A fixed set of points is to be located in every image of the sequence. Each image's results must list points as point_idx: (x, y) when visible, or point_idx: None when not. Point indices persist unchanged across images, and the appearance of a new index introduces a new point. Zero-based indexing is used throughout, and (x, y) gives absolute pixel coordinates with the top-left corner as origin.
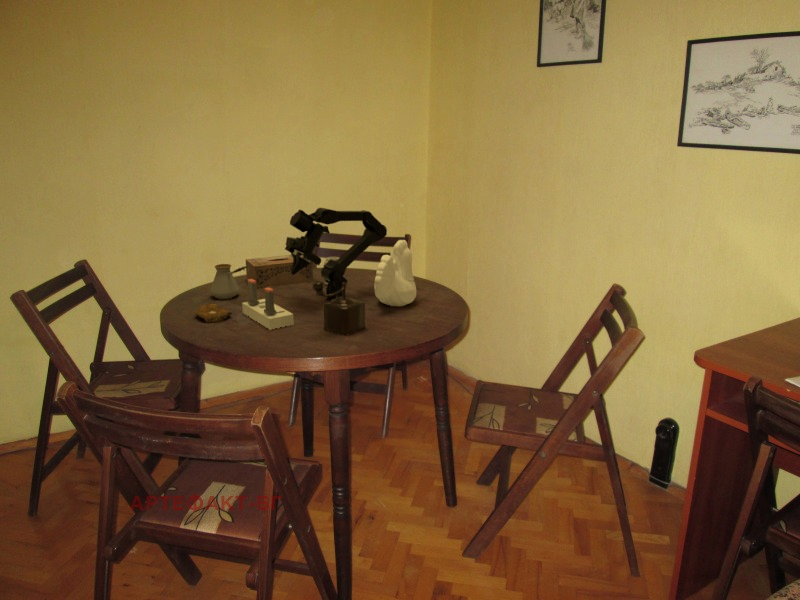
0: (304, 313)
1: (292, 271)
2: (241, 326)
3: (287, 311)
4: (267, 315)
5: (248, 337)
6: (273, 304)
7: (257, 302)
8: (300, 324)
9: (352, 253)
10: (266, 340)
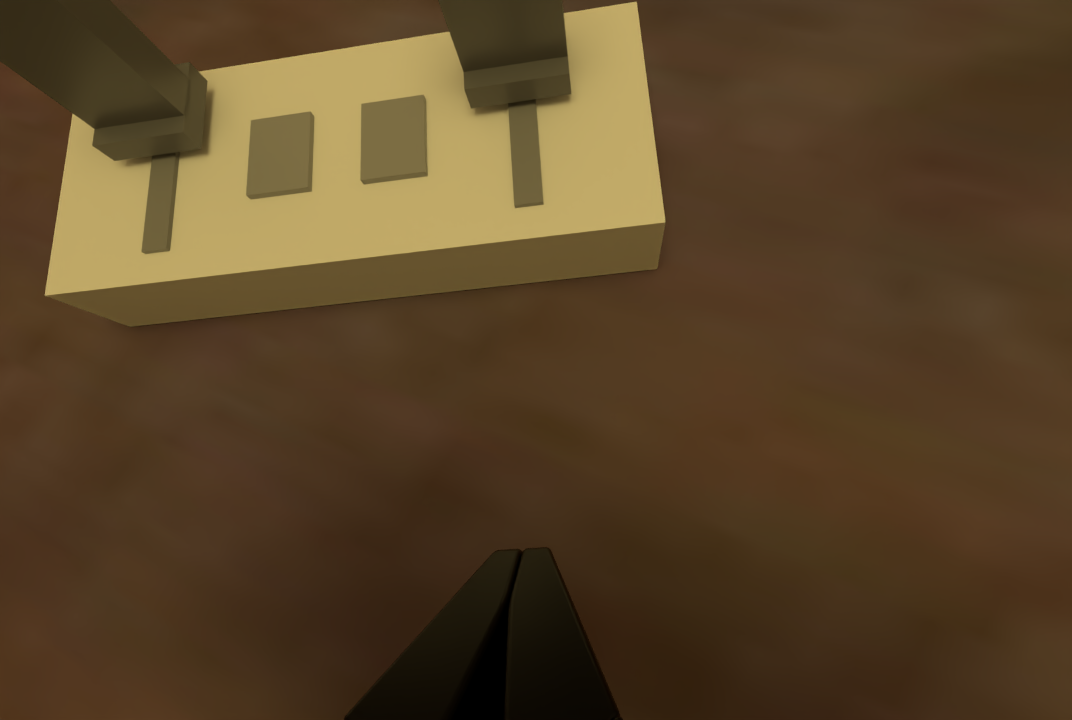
0: (327, 533)
1: (482, 580)
2: (337, 10)
3: (138, 278)
4: None
5: (125, 6)
6: (32, 77)
7: (467, 81)
8: (108, 377)
9: None
10: (10, 81)
